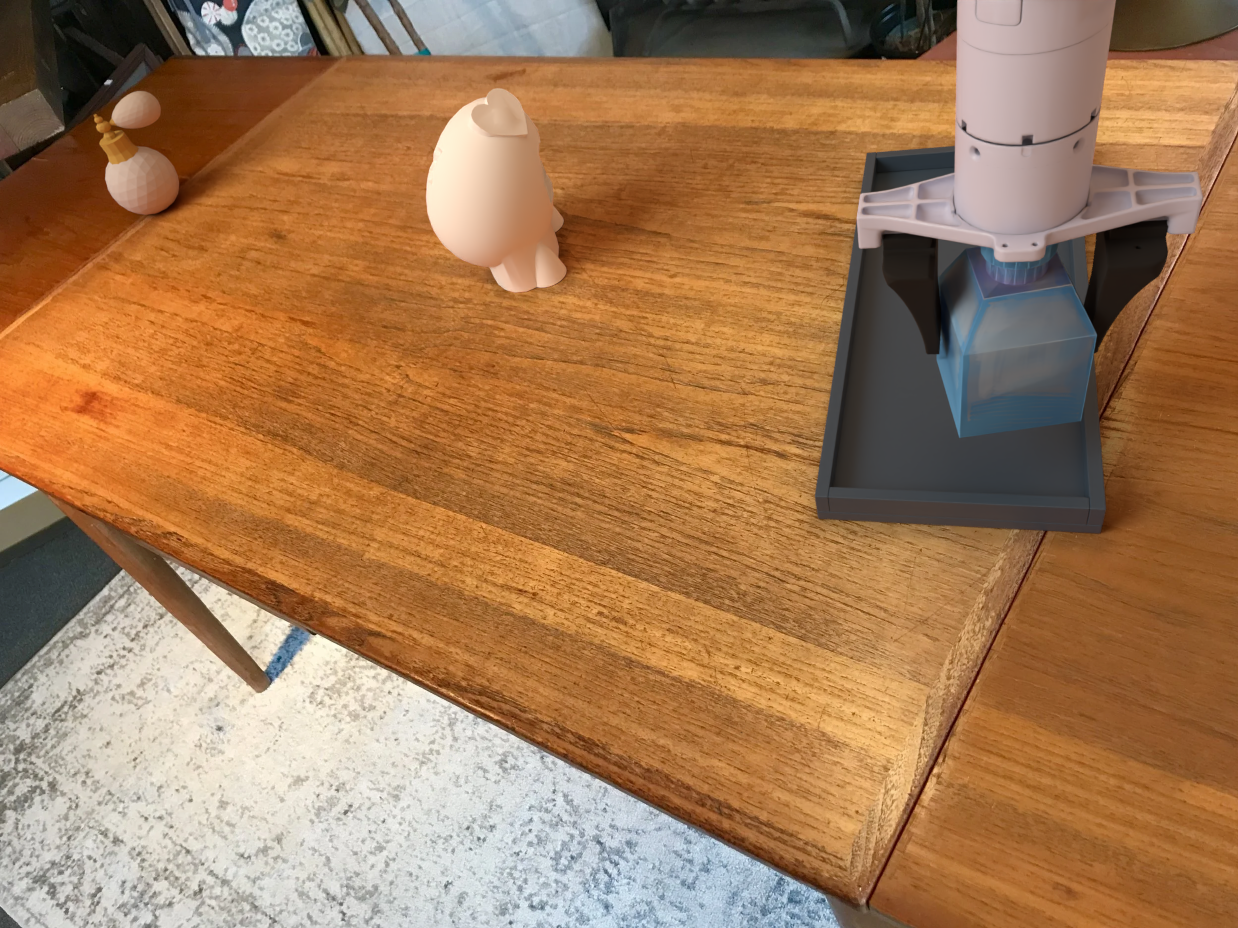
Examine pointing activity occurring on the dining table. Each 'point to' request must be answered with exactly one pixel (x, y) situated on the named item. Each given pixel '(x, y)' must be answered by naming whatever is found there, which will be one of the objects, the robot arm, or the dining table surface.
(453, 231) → the figurine
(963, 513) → the tray
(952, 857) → the dining table surface
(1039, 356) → the perfume bottle
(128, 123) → the perfume bottle
